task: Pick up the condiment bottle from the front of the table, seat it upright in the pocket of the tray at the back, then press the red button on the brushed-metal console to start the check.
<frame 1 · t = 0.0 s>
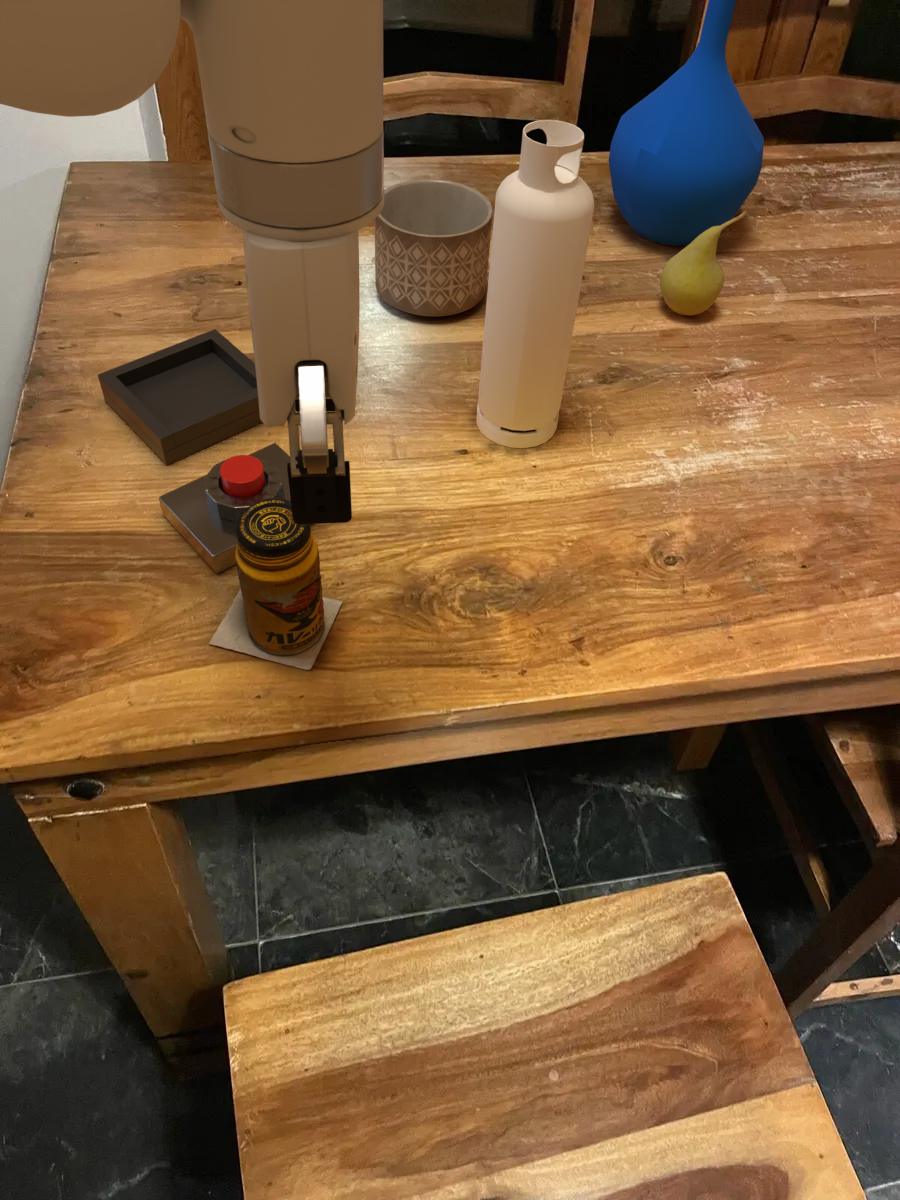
hand: (321, 461, 55), 22 cm above the table, tool pointing down, fingers open, 9 cm apart
condiment: (277, 625, 75), on the table
button: (242, 476, 79), point 4 cm above the table, slide at 0.1 cm
fruit: (686, 310, 108), on the table
planter: (430, 295, 108), on the table
console: (248, 514, 83), on the table
vase: (668, 228, 121), on the table
tray: (194, 407, 92), on the table
bottle: (516, 423, 93), on the table
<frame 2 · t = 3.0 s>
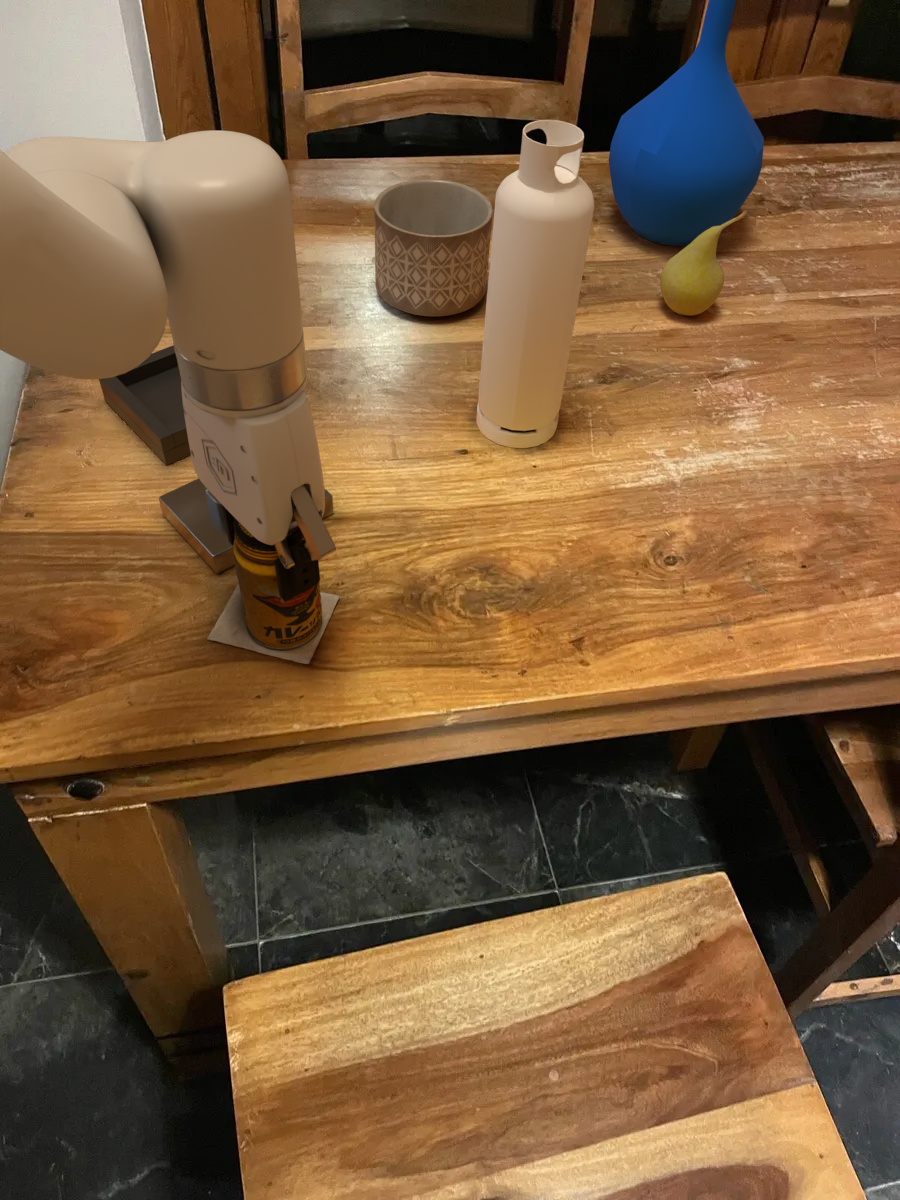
hand: (274, 561, 69), 7 cm above the table, tool pointing down, fingers closed on condiment, 6 cm apart
condiment: (275, 620, 75), on the table, touching gripper
everything else where it was.
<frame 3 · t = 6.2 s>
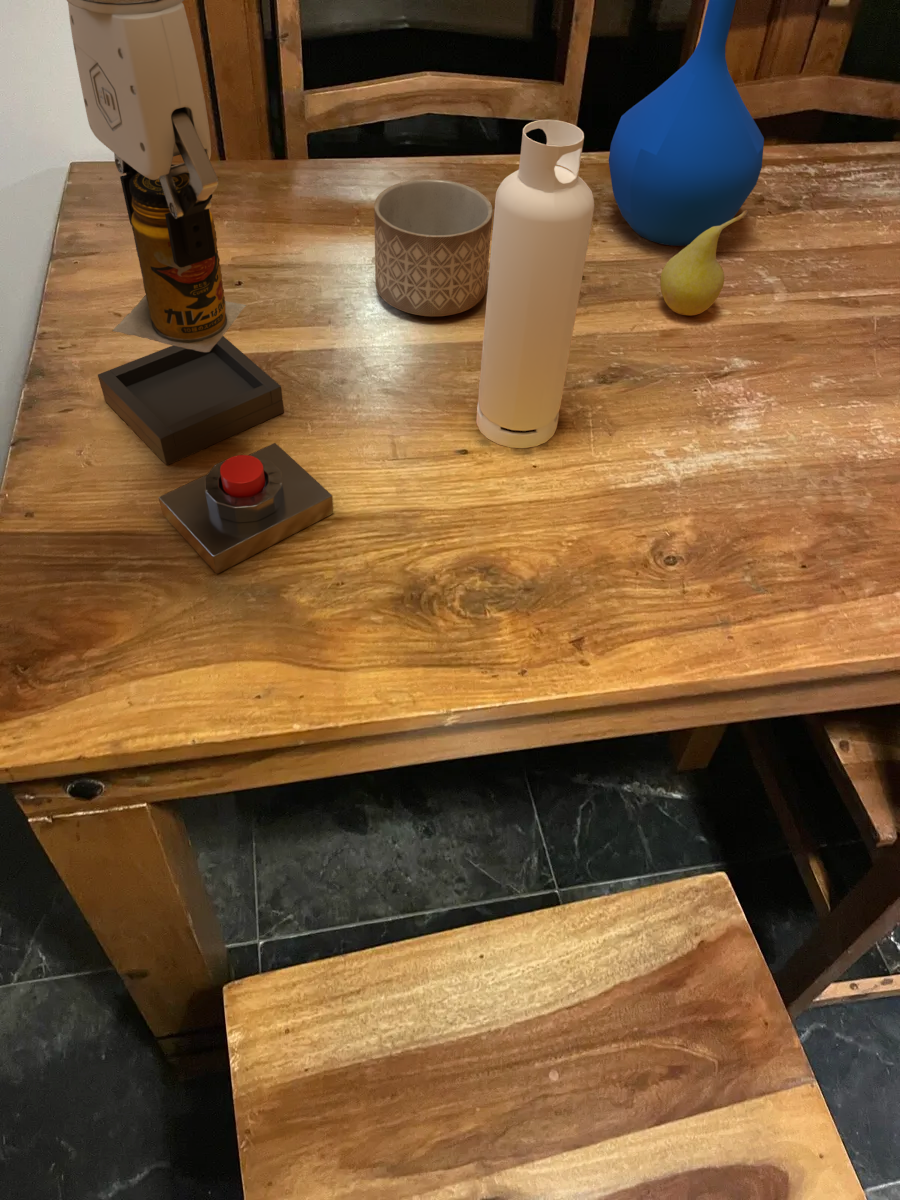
hand: (172, 239, 71), 22 cm above the table, tool pointing down, fingers closed on condiment, 6 cm apart
condiment: (181, 322, 77), point 14 cm above the table, touching gripper
everything else where it was.
when the fingers open (11 cm above the table, at t = 9.6 s): condiment stays where it is, resting on tray.
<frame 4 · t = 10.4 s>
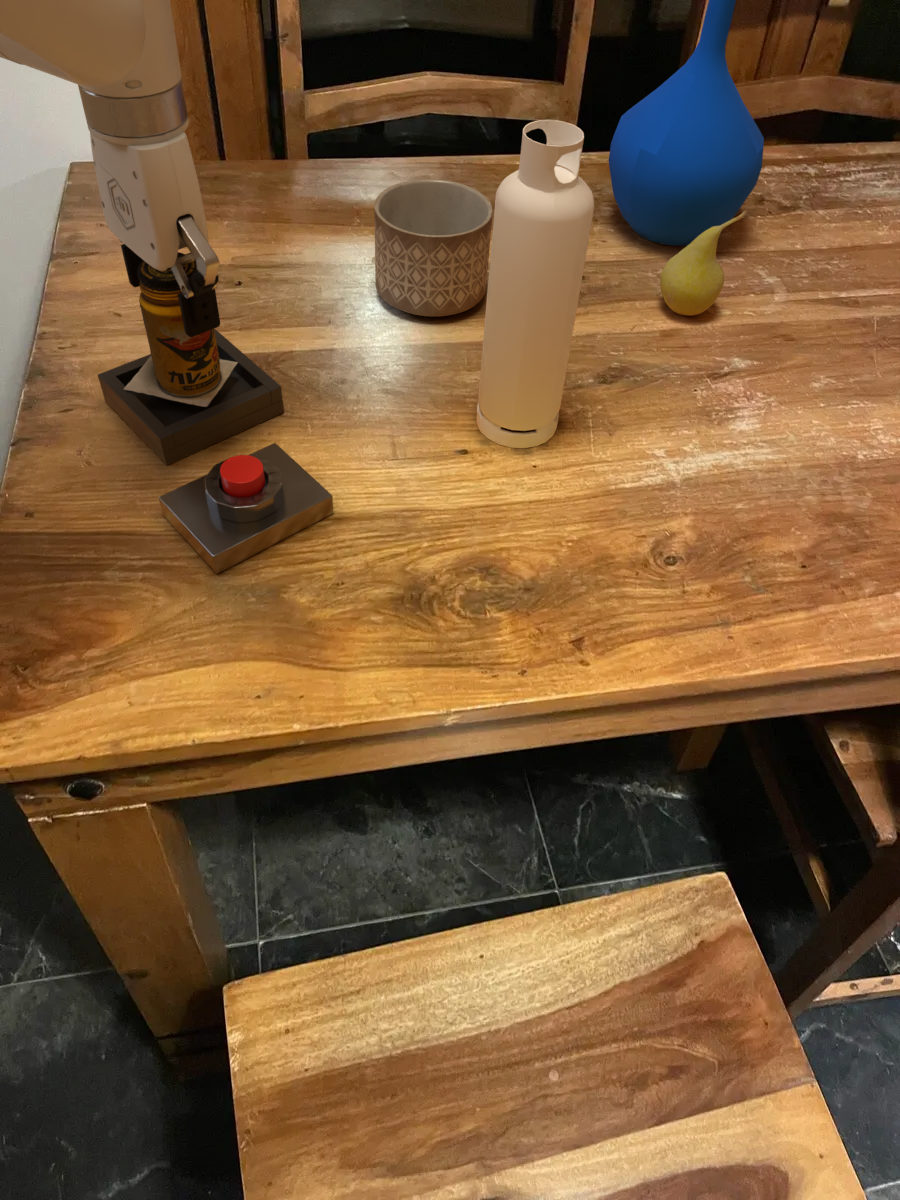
hand: (174, 305, 84), 11 cm above the table, tool pointing down, fingers open, 9 cm apart
condiment: (182, 379, 90), point 3 cm above the table, touching tray
everything else where it was.
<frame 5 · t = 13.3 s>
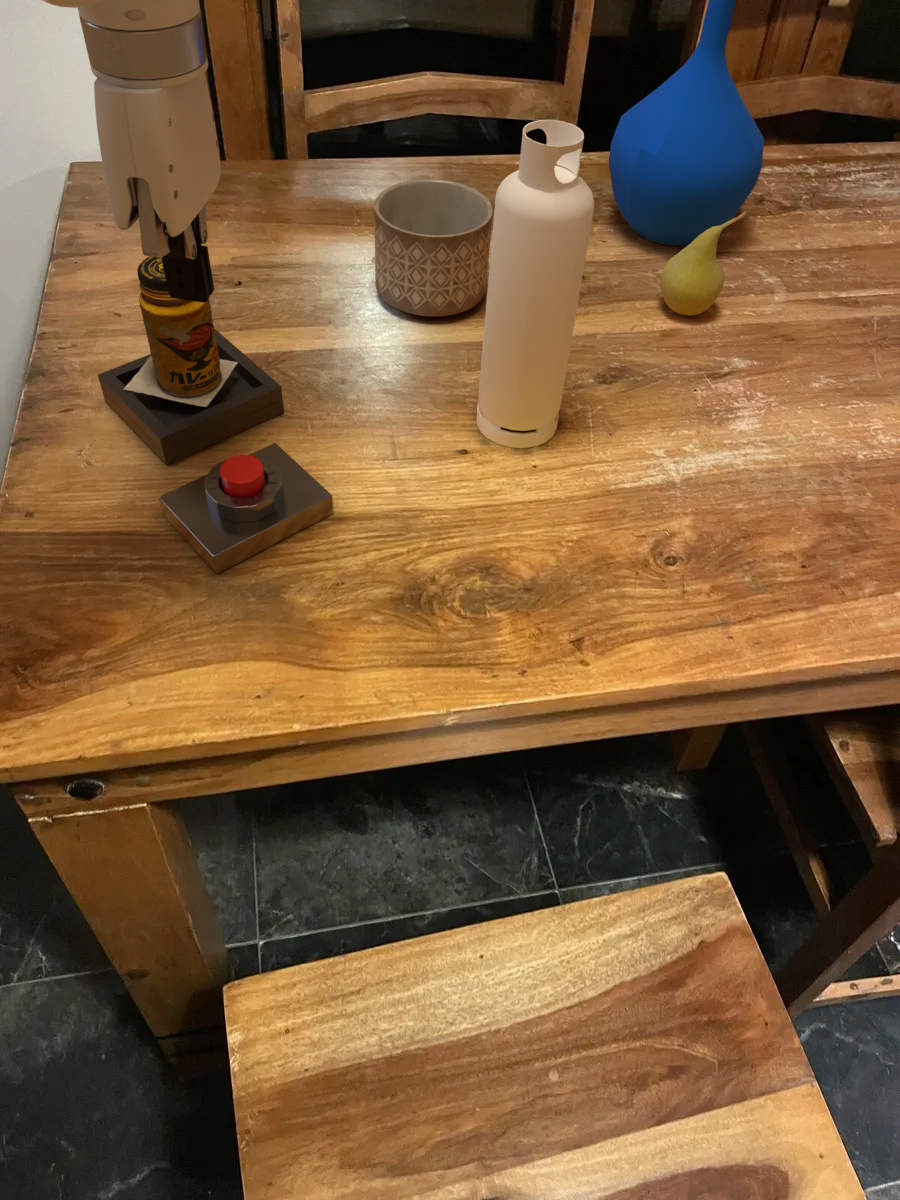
hand: (192, 294, 75), 17 cm above the table, tool pointing down, fingers closed
nothing on the table moved.
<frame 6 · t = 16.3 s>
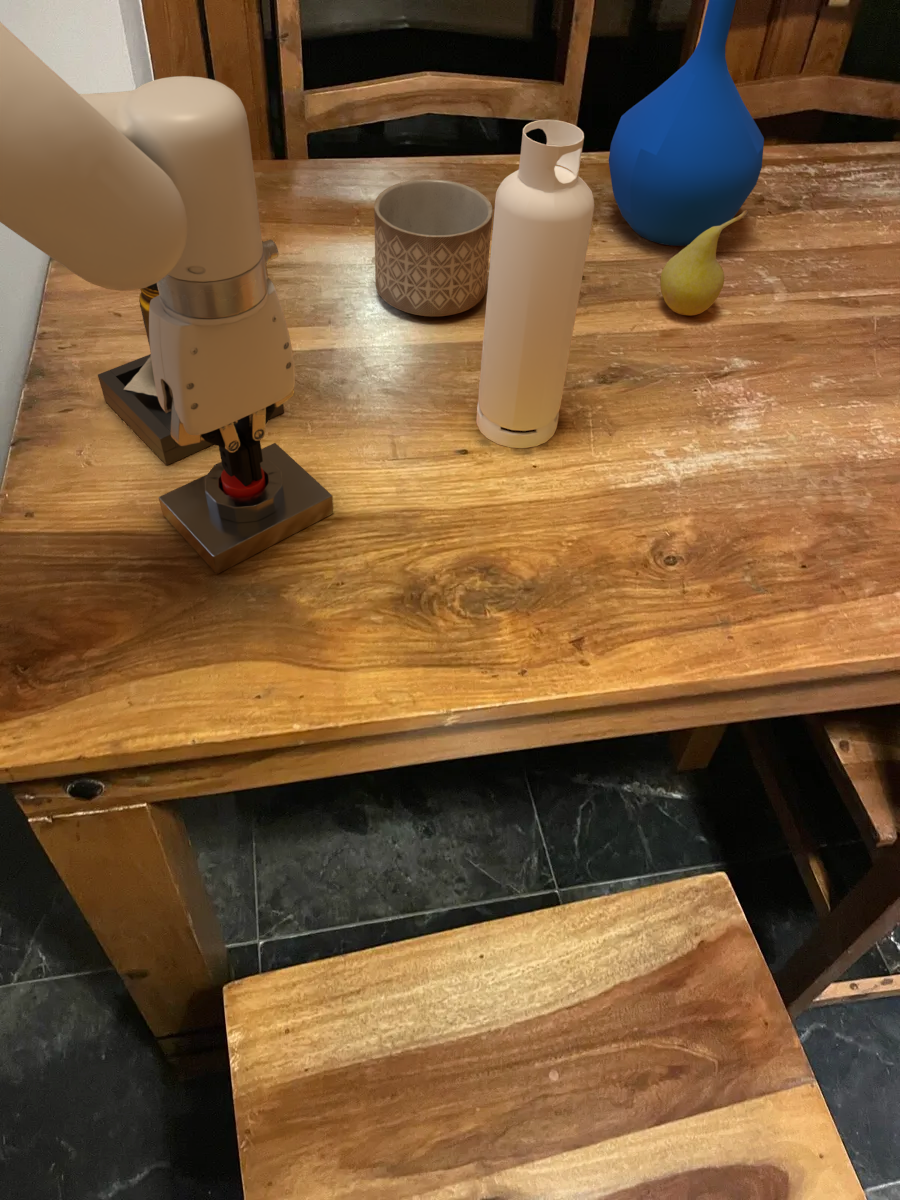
hand: (244, 473, 79), 5 cm above the table, tool pointing down, fingers closed
button: (243, 482, 80), point 4 cm above the table, slide at -0.6 cm, touching gripper
everything else where it was.
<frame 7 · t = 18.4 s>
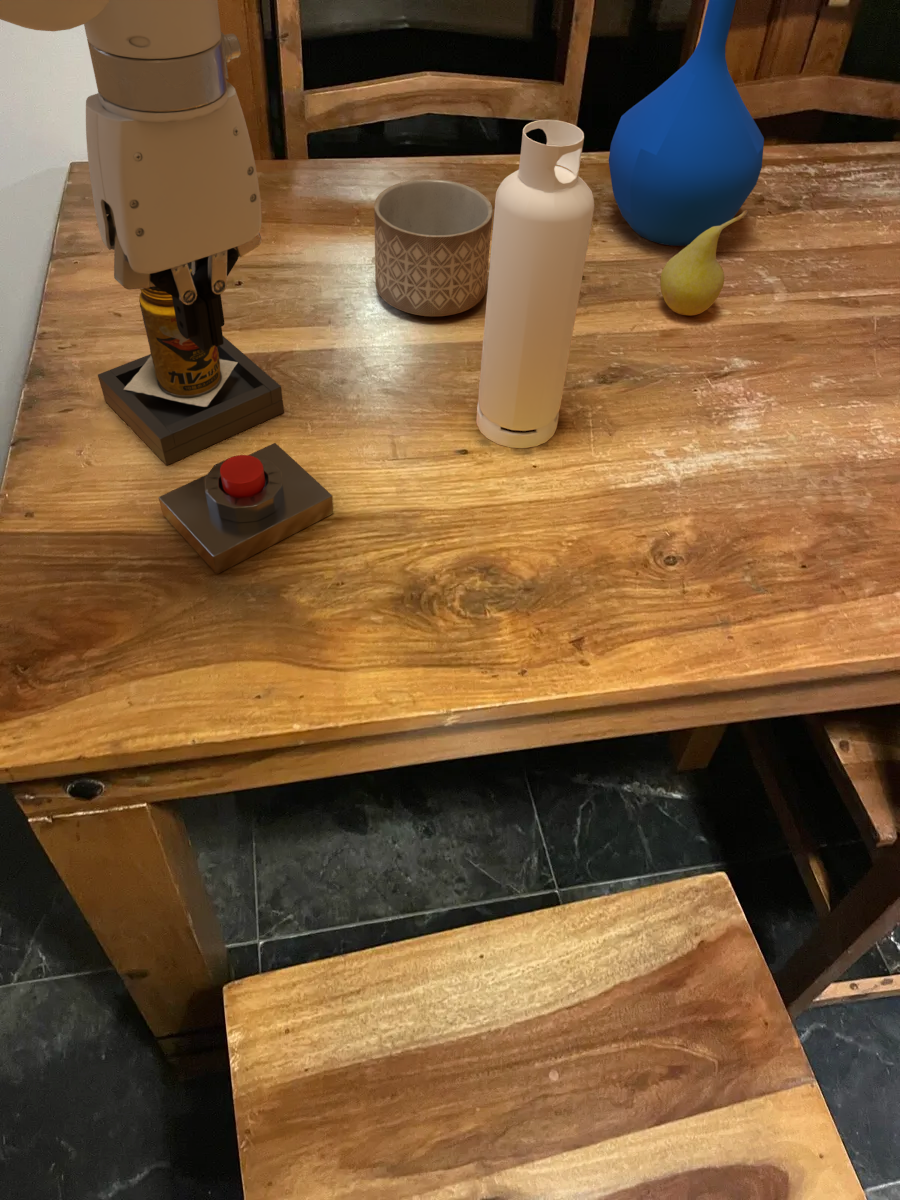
hand: (203, 339, 69), 18 cm above the table, tool pointing down, fingers closed
button: (242, 476, 79), point 4 cm above the table, slide at 0.1 cm
everything else where it was.
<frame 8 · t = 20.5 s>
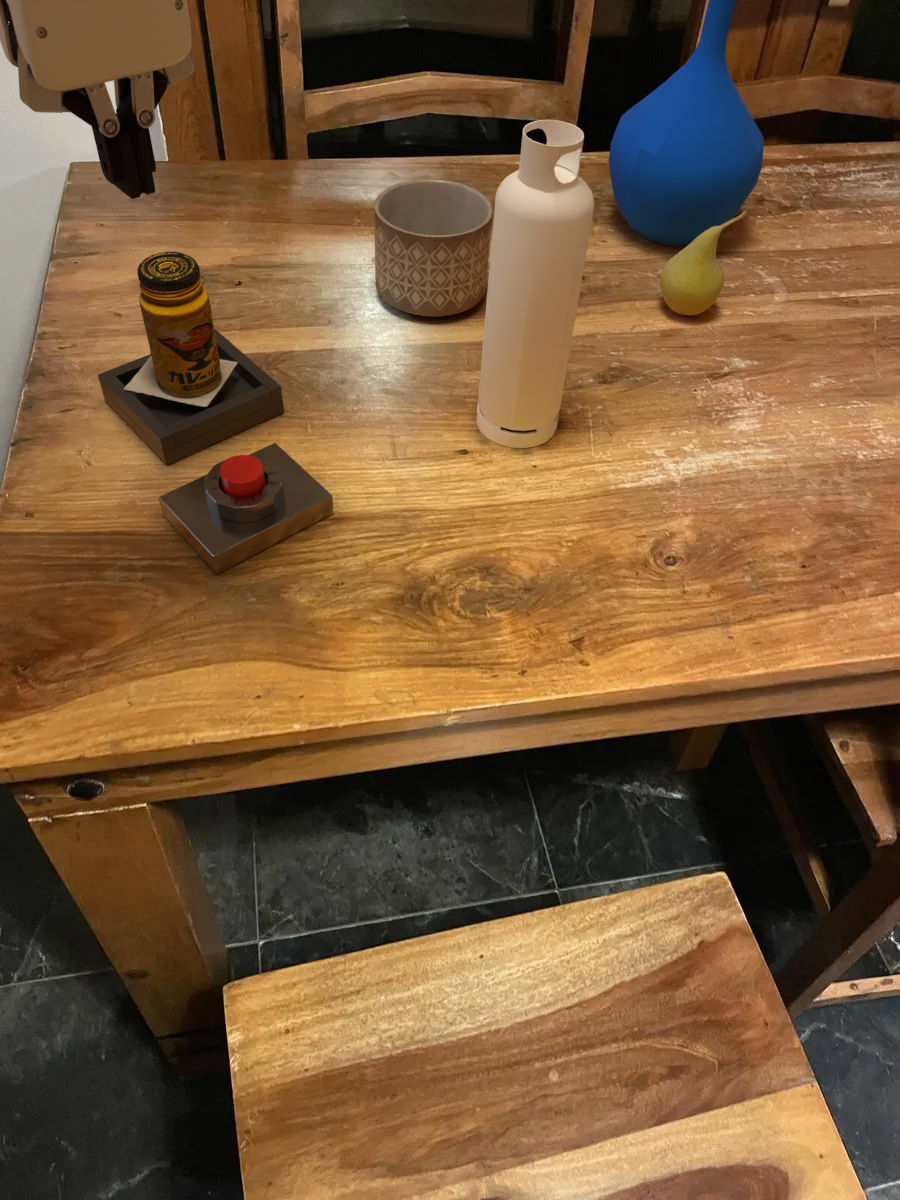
hand: (133, 187, 61), 29 cm above the table, tool pointing down, fingers closed
nothing on the table moved.
at the end: condiment 0.9 cm off-centre on the tray, point 3.0 cm above the tray's base; condiment tilted 0°; button pushed in 1.1 cm at the most during the clip, back to where it started at the end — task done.
